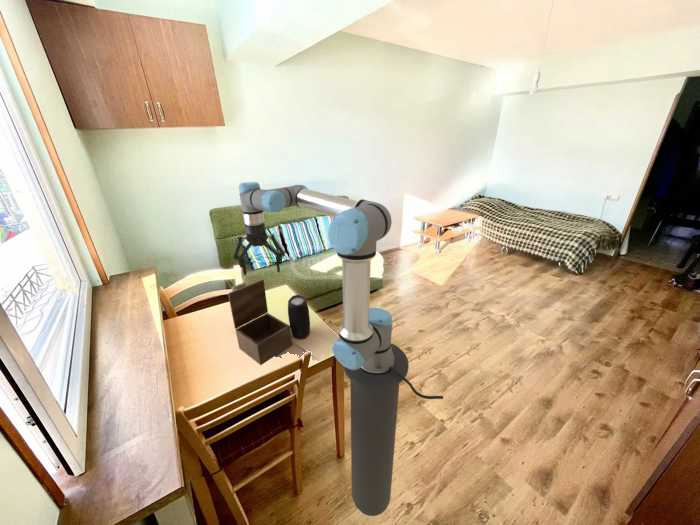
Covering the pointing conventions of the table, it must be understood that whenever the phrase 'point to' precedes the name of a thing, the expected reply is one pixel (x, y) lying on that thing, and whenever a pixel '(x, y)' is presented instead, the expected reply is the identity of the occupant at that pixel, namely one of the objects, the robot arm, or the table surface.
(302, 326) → the portable speaker
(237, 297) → the lid
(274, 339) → the chest
